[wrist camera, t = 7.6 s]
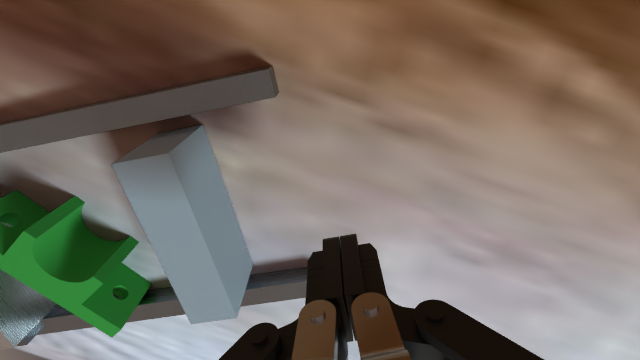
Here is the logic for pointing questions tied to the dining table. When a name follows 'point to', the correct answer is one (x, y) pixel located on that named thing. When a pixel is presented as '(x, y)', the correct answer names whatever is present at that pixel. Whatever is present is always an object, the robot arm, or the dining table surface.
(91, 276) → the pipe clamp
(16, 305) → the vise
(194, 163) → the block
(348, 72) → the dining table surface
